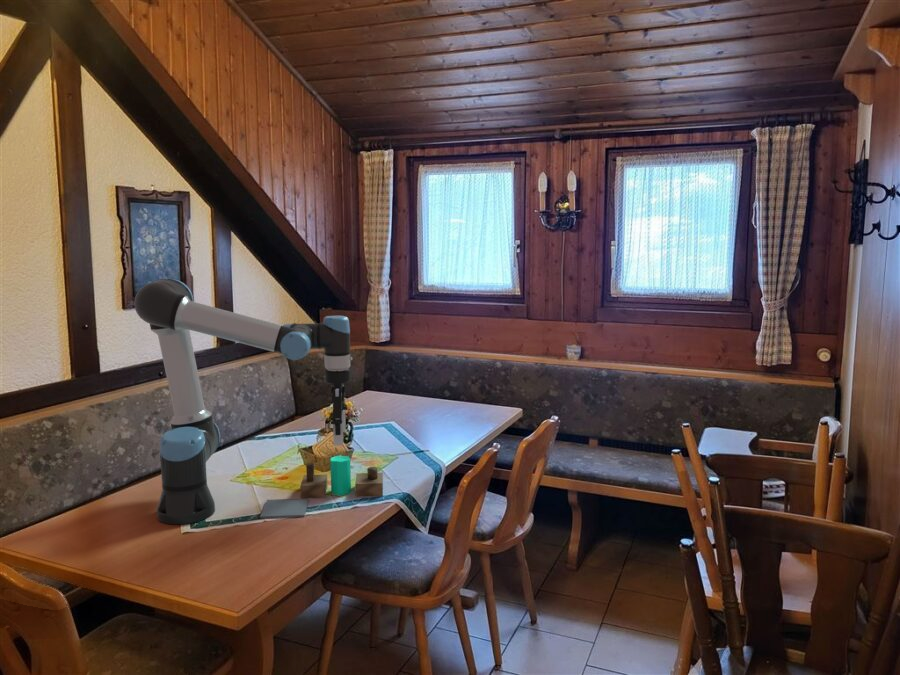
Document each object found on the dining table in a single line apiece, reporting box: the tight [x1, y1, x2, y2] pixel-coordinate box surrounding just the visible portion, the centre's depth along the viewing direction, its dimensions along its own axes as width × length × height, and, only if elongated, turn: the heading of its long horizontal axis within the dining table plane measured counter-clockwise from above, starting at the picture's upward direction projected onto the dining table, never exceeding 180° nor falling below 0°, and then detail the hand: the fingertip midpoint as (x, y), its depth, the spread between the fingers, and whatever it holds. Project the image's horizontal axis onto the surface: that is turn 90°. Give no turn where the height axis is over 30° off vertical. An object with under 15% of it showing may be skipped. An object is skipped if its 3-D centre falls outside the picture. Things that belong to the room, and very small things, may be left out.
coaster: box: [259, 498, 310, 519], centre depth 204 cm, size 12×12×1 cm
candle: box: [329, 453, 352, 496], centre depth 217 cm, size 6×6×12 cm
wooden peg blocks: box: [300, 462, 384, 499], centre depth 217 cm, size 24×9×9 cm, turn 95°
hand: (339, 438), depth 215 cm, fingers open, 13 cm apart
